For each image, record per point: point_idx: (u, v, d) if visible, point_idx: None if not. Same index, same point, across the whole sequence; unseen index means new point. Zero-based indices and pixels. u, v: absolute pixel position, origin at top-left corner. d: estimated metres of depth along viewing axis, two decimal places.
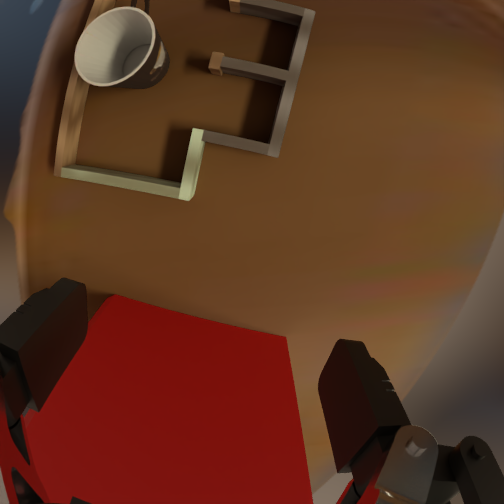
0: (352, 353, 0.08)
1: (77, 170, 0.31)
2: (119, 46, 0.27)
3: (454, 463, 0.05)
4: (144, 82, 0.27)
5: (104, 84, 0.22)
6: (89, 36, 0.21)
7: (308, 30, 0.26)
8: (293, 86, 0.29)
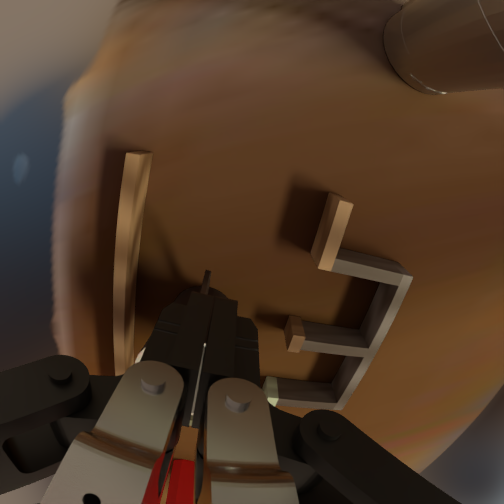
0: (216, 308, 0.09)
1: None
2: None
3: (304, 449, 0.05)
4: None
5: None
6: None
7: (399, 303, 0.27)
8: (368, 361, 0.29)
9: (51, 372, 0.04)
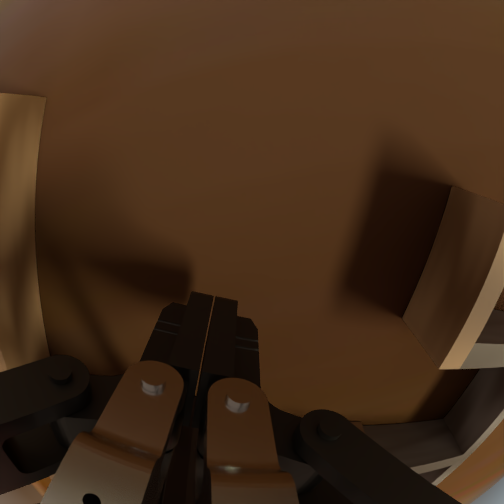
0: (216, 307, 0.09)
1: None
2: None
3: (304, 449, 0.05)
4: None
5: None
6: None
7: None
8: (456, 466, 0.13)
9: (51, 372, 0.04)
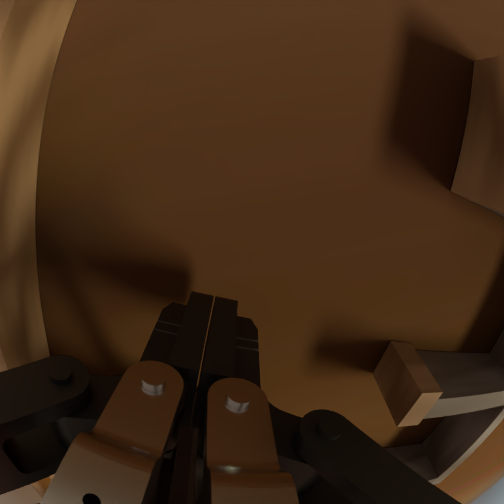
0: (216, 307, 0.09)
1: None
2: None
3: (304, 449, 0.05)
4: None
5: None
6: None
7: None
8: None
9: (51, 372, 0.04)
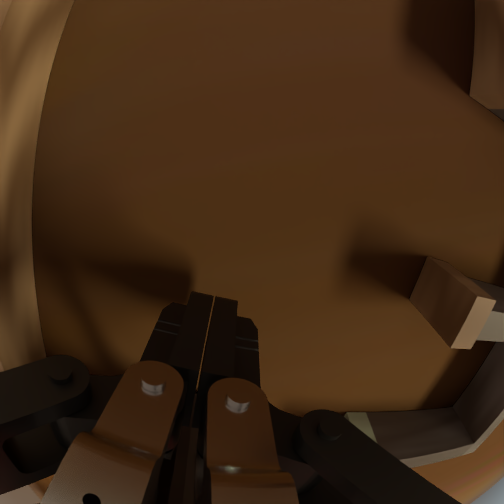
0: (216, 307, 0.09)
1: None
2: None
3: (304, 449, 0.05)
4: None
5: None
6: None
7: None
8: None
9: (51, 372, 0.04)
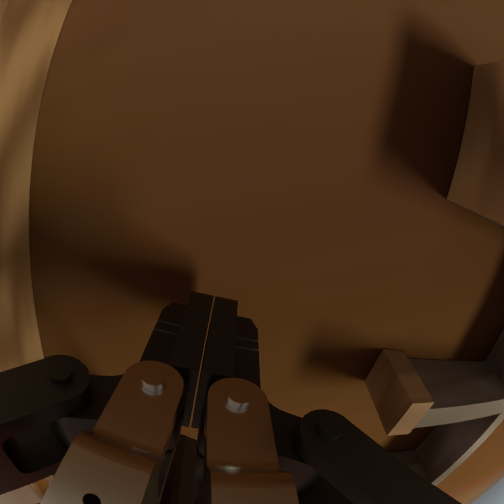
0: (216, 307, 0.09)
1: None
2: None
3: (304, 449, 0.05)
4: None
5: None
6: None
7: None
8: (503, 416, 0.11)
9: (51, 372, 0.04)
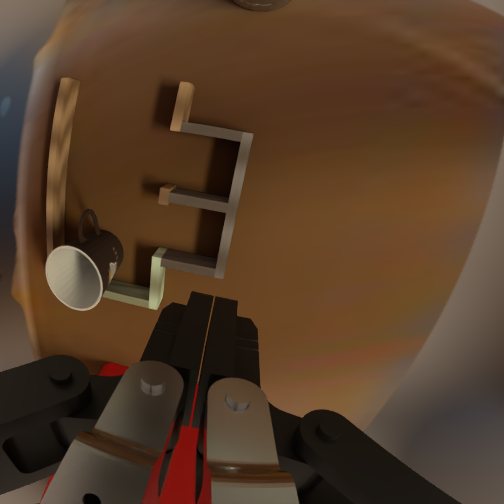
0: (216, 307, 0.09)
1: None
2: None
3: (303, 449, 0.05)
4: None
5: (74, 308, 0.33)
6: (53, 259, 0.32)
7: (246, 158, 0.34)
8: (232, 217, 0.36)
9: (51, 372, 0.04)
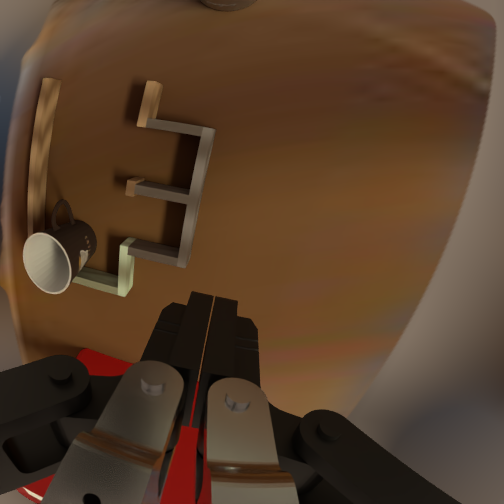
0: (216, 307, 0.09)
1: None
2: None
3: (304, 449, 0.05)
4: None
5: (47, 291, 0.34)
6: (30, 245, 0.33)
7: (205, 151, 0.35)
8: (193, 209, 0.37)
9: (51, 372, 0.04)
